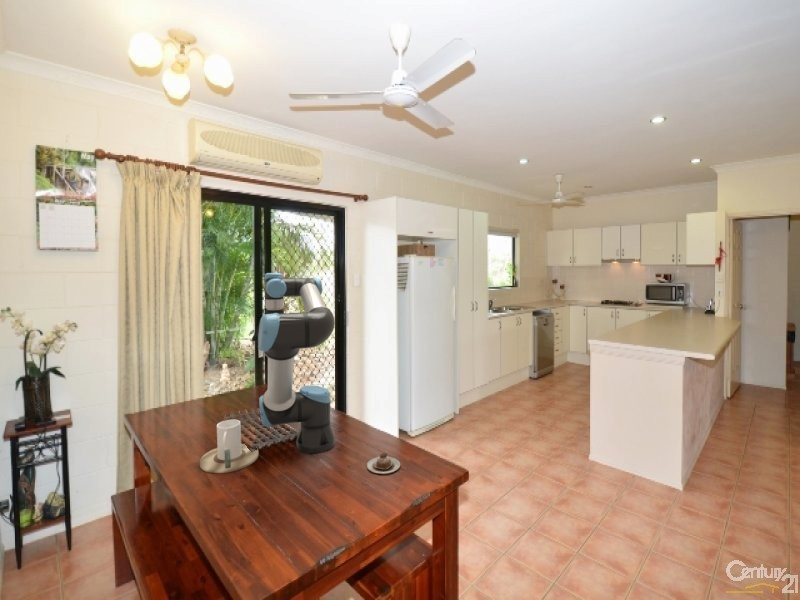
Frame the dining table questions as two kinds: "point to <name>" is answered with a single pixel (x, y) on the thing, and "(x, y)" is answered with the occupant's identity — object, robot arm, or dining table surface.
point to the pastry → (383, 464)
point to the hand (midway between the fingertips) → (275, 357)
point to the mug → (229, 438)
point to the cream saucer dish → (227, 461)
